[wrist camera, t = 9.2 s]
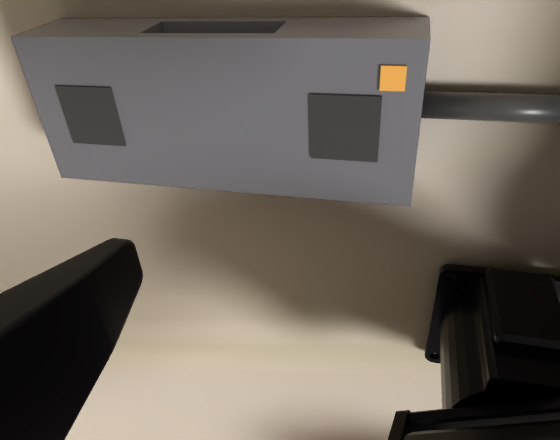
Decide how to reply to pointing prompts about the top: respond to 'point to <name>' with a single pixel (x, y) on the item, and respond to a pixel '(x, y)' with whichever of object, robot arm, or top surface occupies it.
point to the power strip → (248, 102)
